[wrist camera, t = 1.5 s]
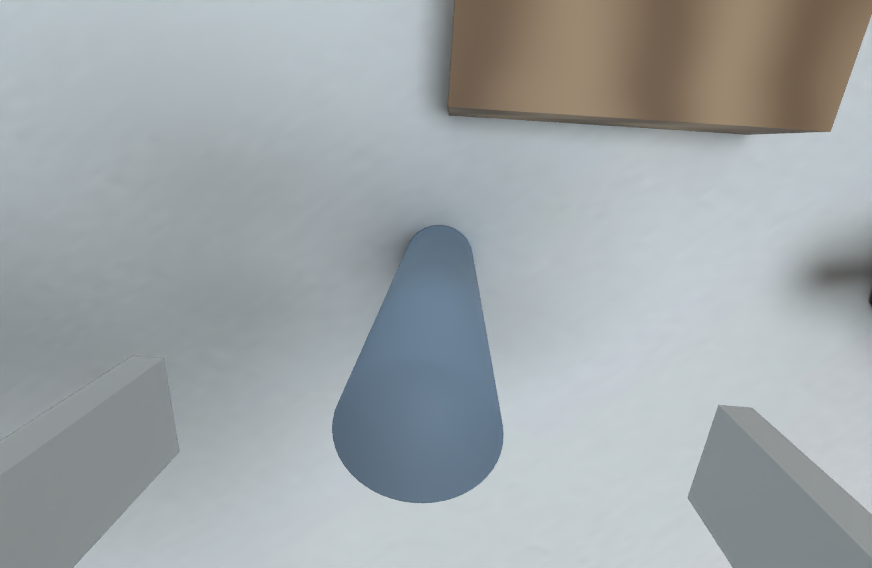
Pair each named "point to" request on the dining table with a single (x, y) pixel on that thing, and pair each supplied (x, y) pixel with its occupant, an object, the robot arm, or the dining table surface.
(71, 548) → the robot arm
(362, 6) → the dining table surface
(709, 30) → the socket block
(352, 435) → the peg
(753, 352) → the dining table surface
